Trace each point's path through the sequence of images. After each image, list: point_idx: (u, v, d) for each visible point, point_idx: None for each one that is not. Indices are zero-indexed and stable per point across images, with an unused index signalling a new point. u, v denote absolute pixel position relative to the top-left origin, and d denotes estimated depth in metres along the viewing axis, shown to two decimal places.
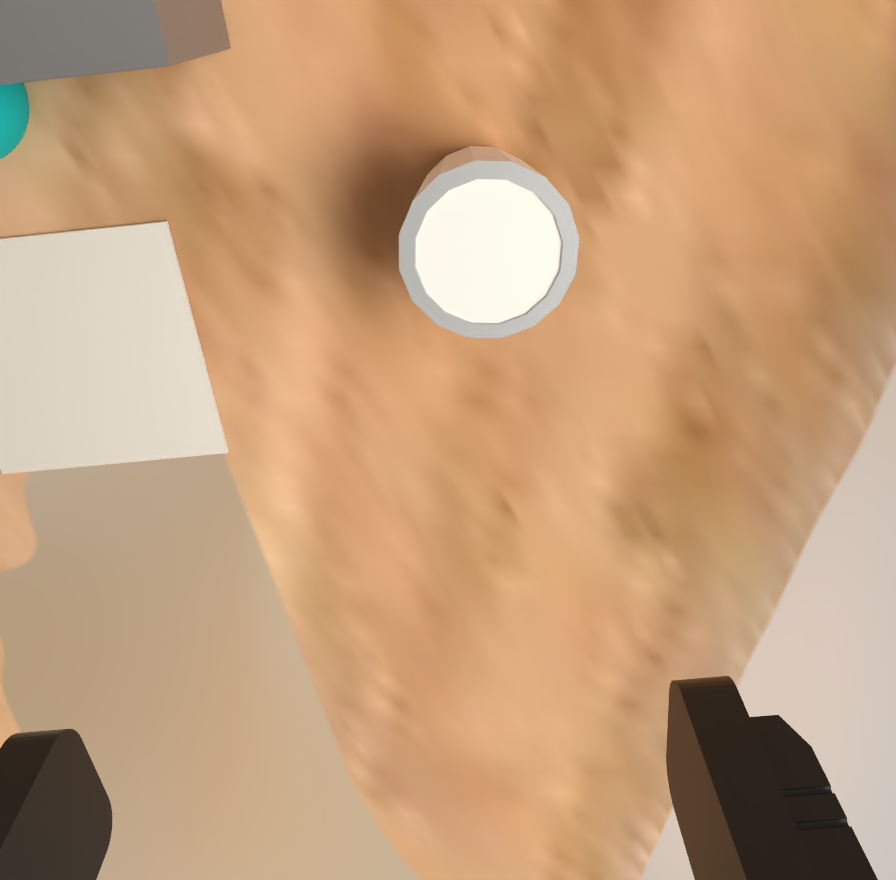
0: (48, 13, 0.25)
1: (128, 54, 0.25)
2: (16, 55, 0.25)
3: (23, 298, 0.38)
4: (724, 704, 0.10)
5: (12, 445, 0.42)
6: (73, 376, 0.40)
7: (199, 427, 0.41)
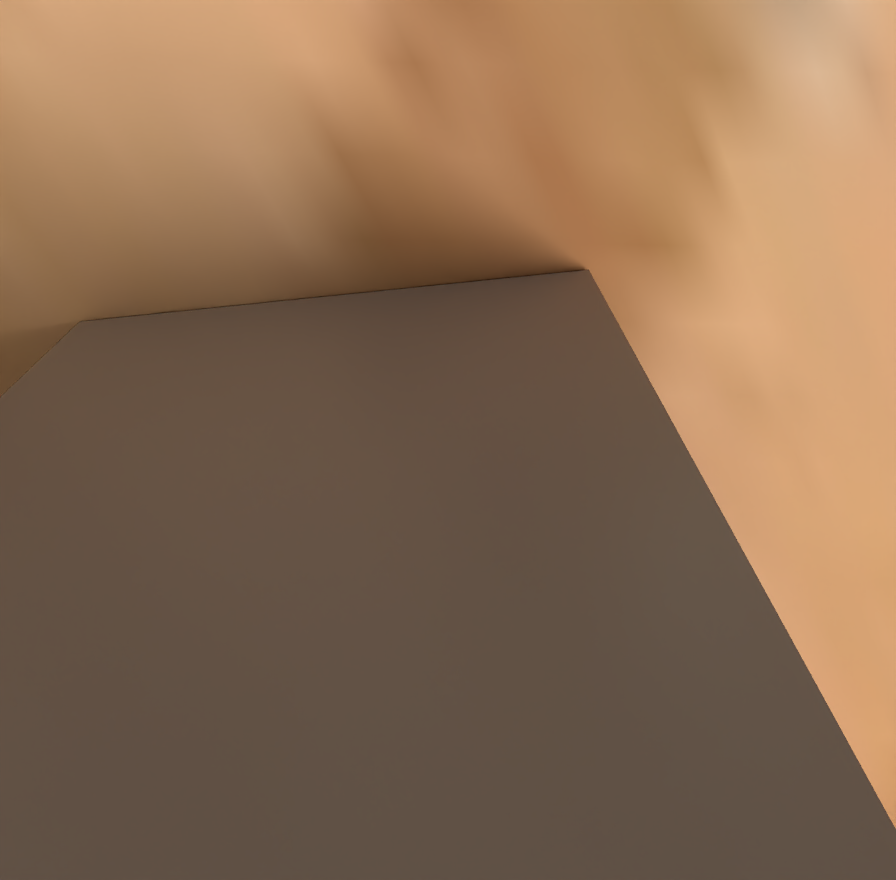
0: None
1: None
2: None
3: None
4: None
5: None
6: None
7: None
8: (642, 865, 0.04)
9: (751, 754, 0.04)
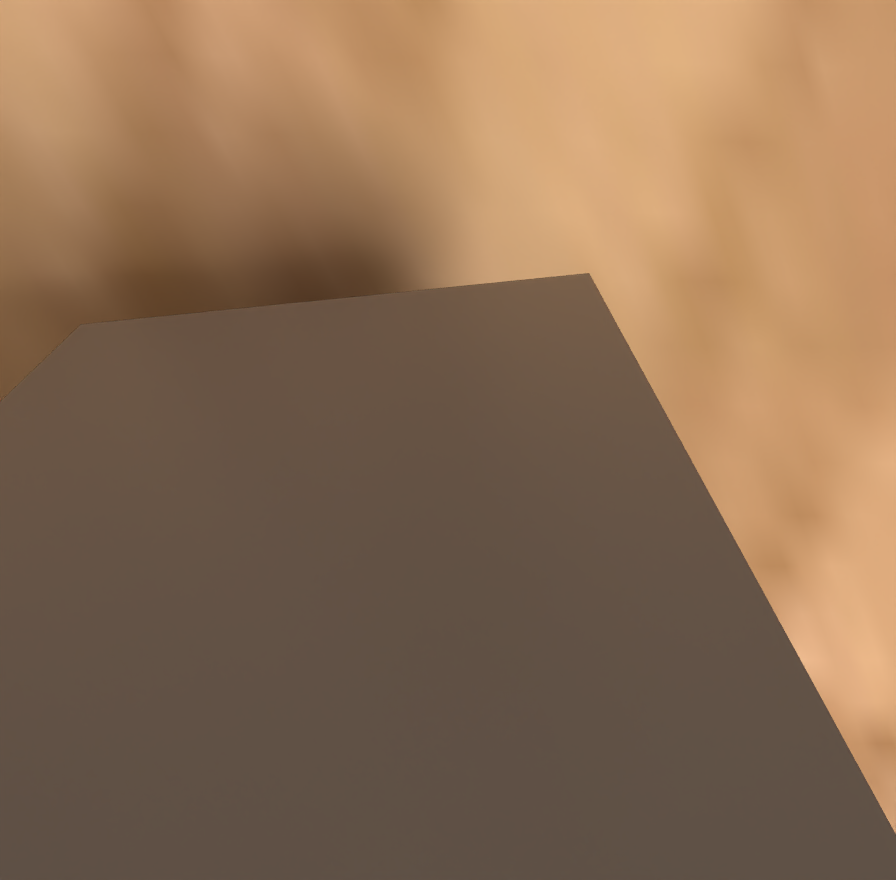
0: None
1: None
2: None
3: None
4: None
5: None
6: None
7: None
8: (643, 869, 0.04)
9: (751, 759, 0.04)
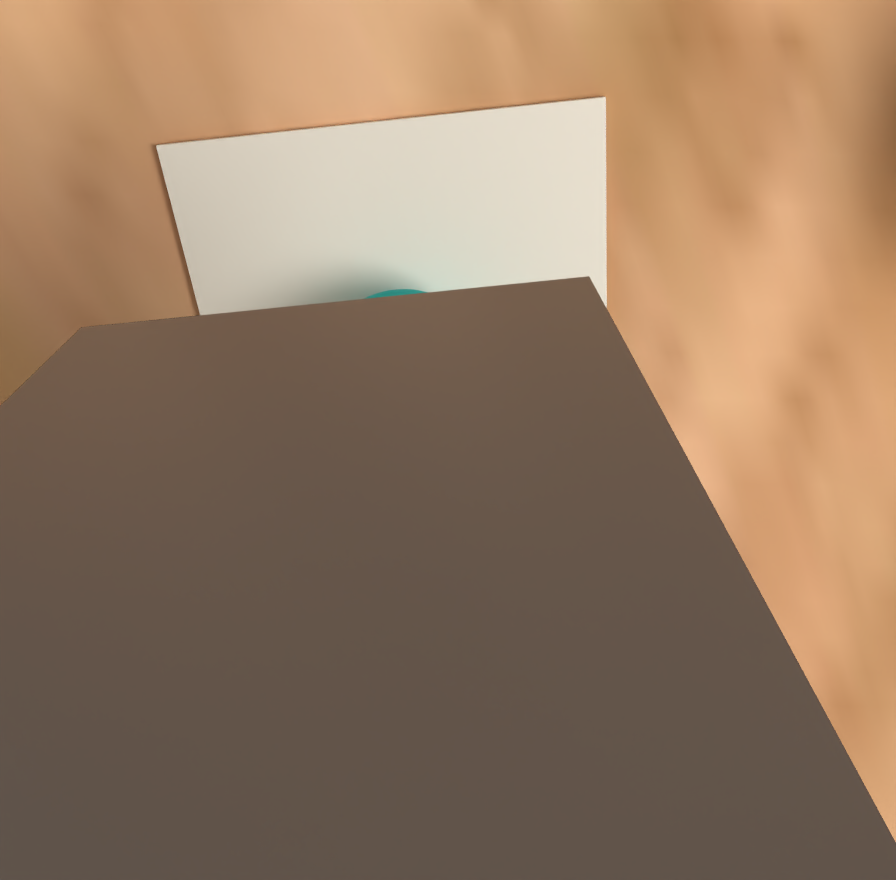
0: None
1: None
2: None
3: (338, 233, 0.23)
4: None
5: None
6: None
7: None
8: (643, 875, 0.04)
9: (751, 765, 0.04)
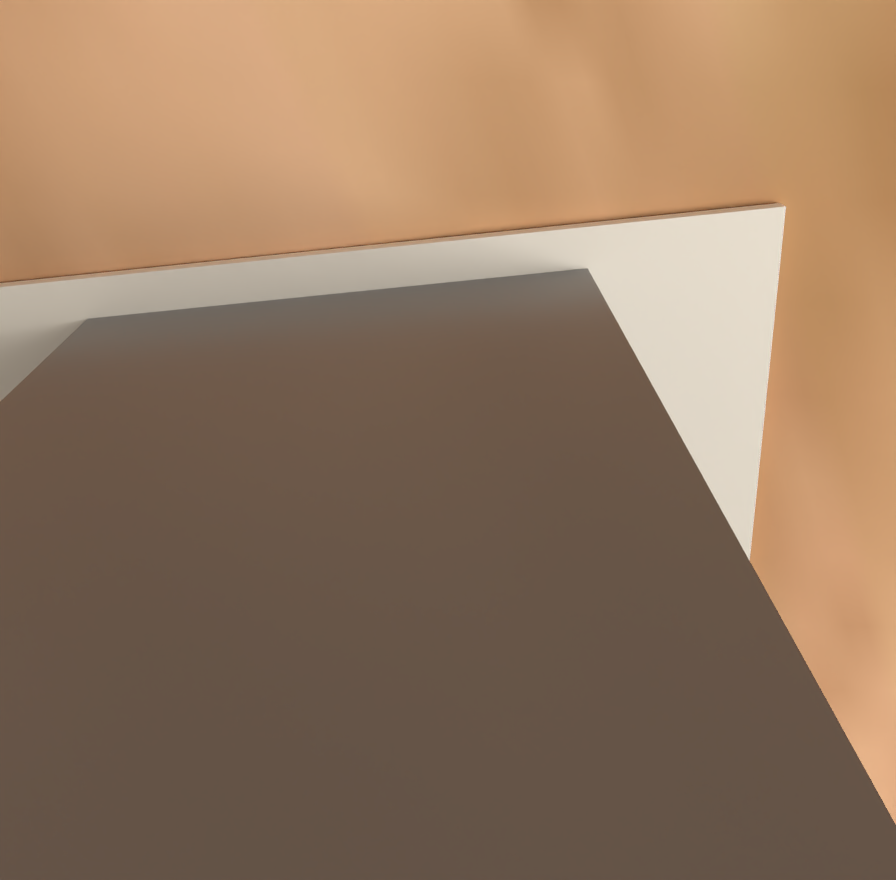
0: None
1: None
2: None
3: None
4: None
5: None
6: None
7: None
8: (626, 786, 0.04)
9: (728, 694, 0.04)
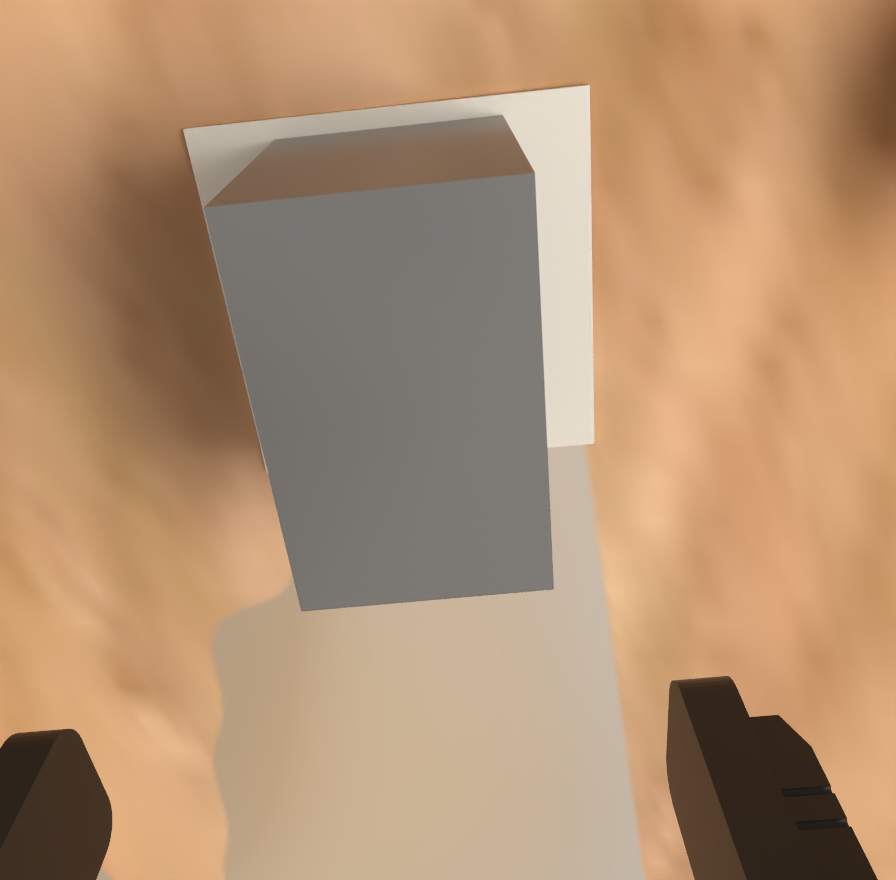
0: (424, 545, 0.21)
1: (508, 580, 0.21)
2: (377, 581, 0.21)
3: None
4: (724, 704, 0.10)
5: None
6: None
7: (562, 407, 0.29)
8: (477, 171, 0.17)
9: (506, 164, 0.17)
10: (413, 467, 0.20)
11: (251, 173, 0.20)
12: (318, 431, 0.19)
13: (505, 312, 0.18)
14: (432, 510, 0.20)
